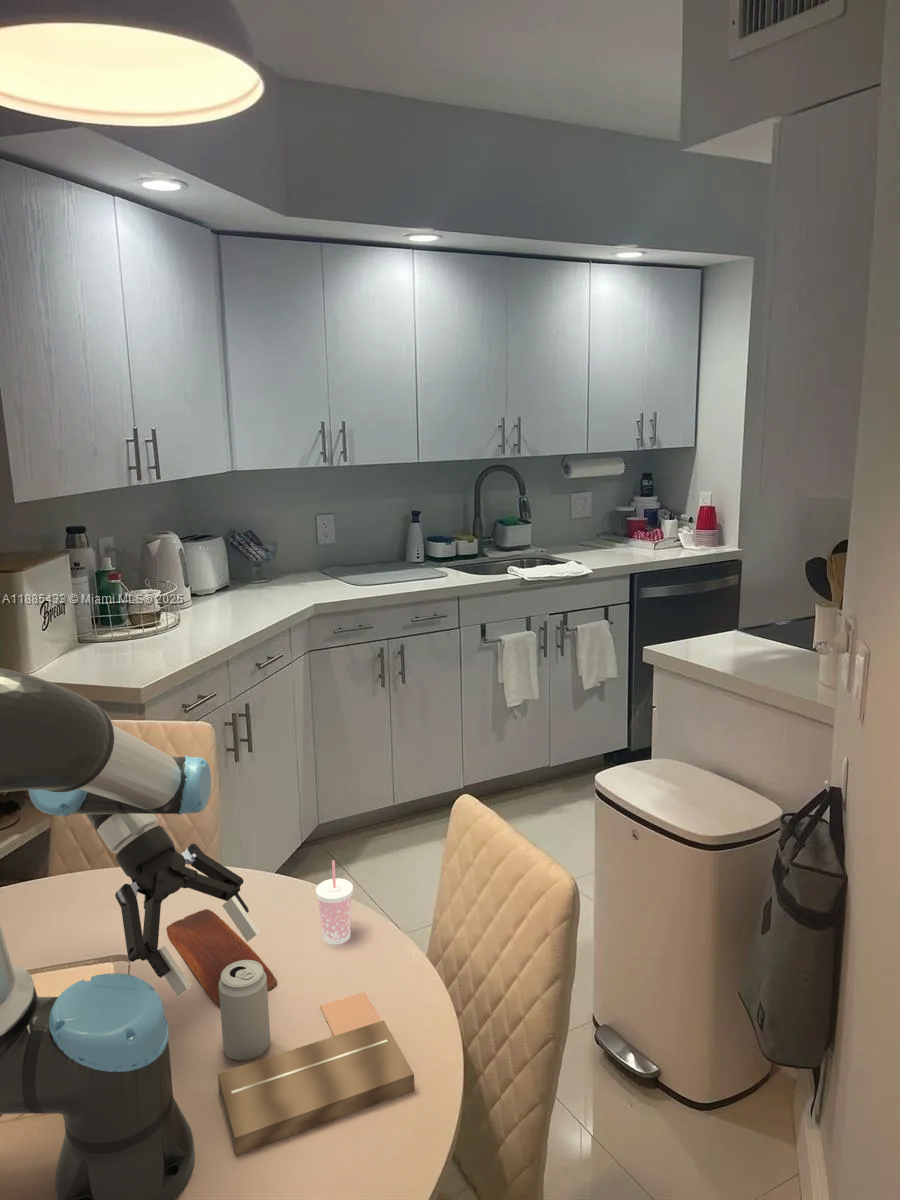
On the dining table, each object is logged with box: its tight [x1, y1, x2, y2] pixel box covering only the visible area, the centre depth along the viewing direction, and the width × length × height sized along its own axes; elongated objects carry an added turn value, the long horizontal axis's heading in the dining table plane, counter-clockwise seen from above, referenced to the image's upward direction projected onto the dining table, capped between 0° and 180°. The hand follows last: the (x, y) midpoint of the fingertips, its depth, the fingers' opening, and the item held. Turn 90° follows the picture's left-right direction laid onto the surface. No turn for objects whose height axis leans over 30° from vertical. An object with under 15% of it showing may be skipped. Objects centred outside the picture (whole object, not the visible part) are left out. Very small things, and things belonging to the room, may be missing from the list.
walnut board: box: [217, 1019, 415, 1156], centre depth 113 cm, size 23×11×3 cm, turn 115°
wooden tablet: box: [166, 908, 278, 1008], centre depth 141 cm, size 27×10×2 cm, turn 37°
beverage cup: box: [315, 859, 354, 946], centre depth 143 cm, size 6×6×14 cm
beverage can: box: [219, 960, 271, 1062], centre depth 119 cm, size 6×6×12 cm
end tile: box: [319, 991, 382, 1037], centre depth 127 cm, size 7×7×1 cm
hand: (221, 963), depth 122 cm, fingers open, 13 cm apart
